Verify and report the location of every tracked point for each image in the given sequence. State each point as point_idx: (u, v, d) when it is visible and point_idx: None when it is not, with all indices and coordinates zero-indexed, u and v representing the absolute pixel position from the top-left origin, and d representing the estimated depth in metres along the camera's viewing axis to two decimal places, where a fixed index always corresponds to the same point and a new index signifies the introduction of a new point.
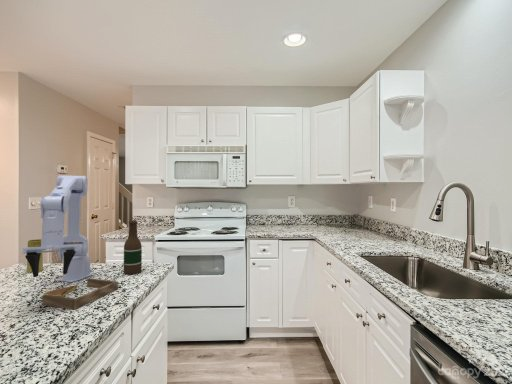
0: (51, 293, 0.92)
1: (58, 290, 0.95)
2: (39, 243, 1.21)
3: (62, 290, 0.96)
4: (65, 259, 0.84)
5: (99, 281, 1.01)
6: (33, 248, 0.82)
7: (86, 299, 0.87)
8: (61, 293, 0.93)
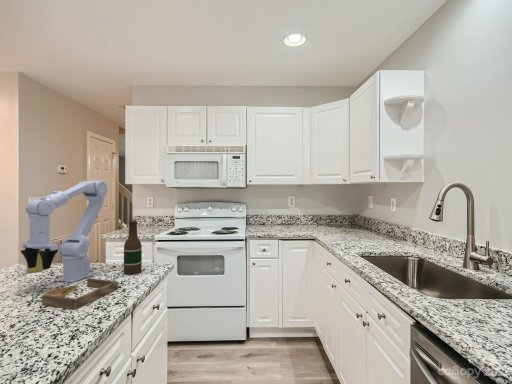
0: (51, 293, 0.92)
1: (58, 290, 0.95)
2: None
3: (62, 290, 0.96)
4: (42, 257, 0.95)
5: (99, 281, 1.01)
6: (25, 244, 0.97)
7: (86, 299, 0.87)
8: (61, 293, 0.93)
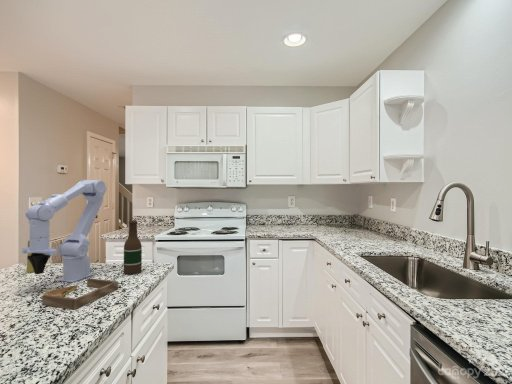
0: (51, 293, 0.92)
1: (58, 290, 0.95)
2: None
3: (62, 290, 0.96)
4: (35, 262, 0.96)
5: (99, 281, 1.01)
6: (25, 250, 0.97)
7: (86, 299, 0.87)
8: (61, 293, 0.93)
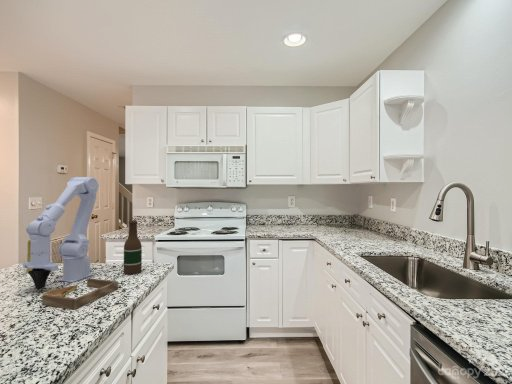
0: (51, 293, 0.92)
1: (58, 290, 0.95)
2: None
3: (62, 290, 0.96)
4: (36, 277, 0.96)
5: (99, 281, 1.01)
6: (26, 265, 0.97)
7: (86, 299, 0.87)
8: (61, 293, 0.93)
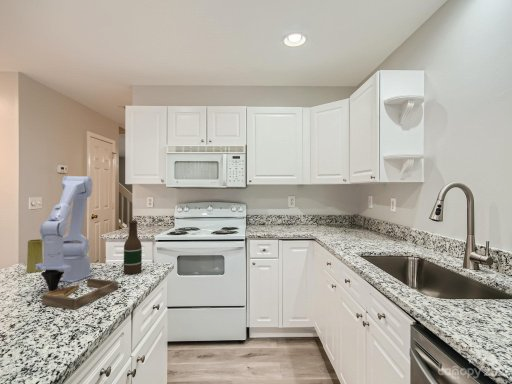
0: (53, 293, 0.92)
1: (60, 290, 0.95)
2: (39, 243, 1.21)
3: (64, 290, 0.95)
4: (49, 279, 0.94)
5: (99, 281, 1.01)
6: (39, 266, 0.96)
7: (86, 299, 0.87)
8: (63, 293, 0.93)
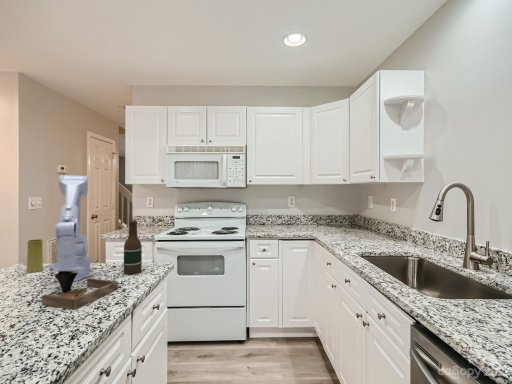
0: (63, 296, 0.89)
1: (69, 293, 0.92)
2: (39, 243, 1.21)
3: (73, 293, 0.93)
4: (62, 280, 0.93)
5: (99, 281, 1.01)
6: (52, 267, 0.94)
7: (86, 299, 0.87)
8: (73, 296, 0.90)
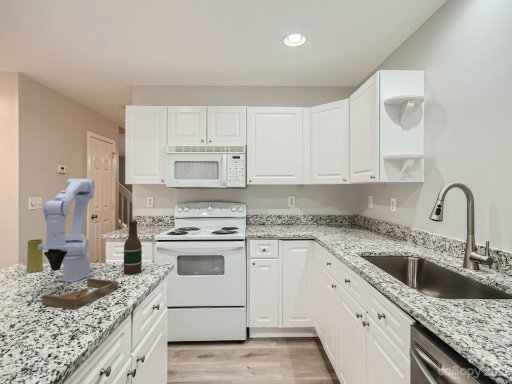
0: None
1: (70, 294, 0.92)
2: (39, 243, 1.21)
3: (74, 294, 0.92)
4: (52, 258, 0.94)
5: (99, 281, 1.01)
6: (42, 246, 0.95)
7: (86, 299, 0.87)
8: (75, 297, 0.90)
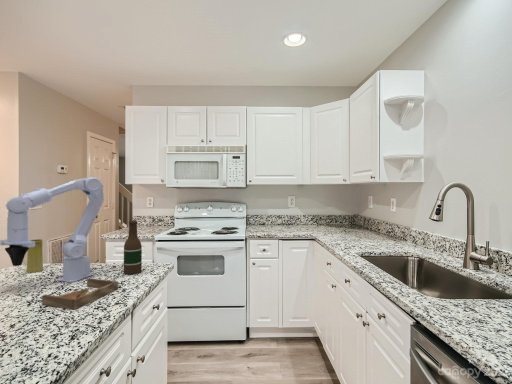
0: None
1: (70, 294, 0.92)
2: (39, 243, 1.21)
3: (74, 294, 0.92)
4: (12, 254, 0.96)
5: (99, 281, 1.01)
6: (3, 242, 0.97)
7: (86, 299, 0.87)
8: (75, 297, 0.90)
